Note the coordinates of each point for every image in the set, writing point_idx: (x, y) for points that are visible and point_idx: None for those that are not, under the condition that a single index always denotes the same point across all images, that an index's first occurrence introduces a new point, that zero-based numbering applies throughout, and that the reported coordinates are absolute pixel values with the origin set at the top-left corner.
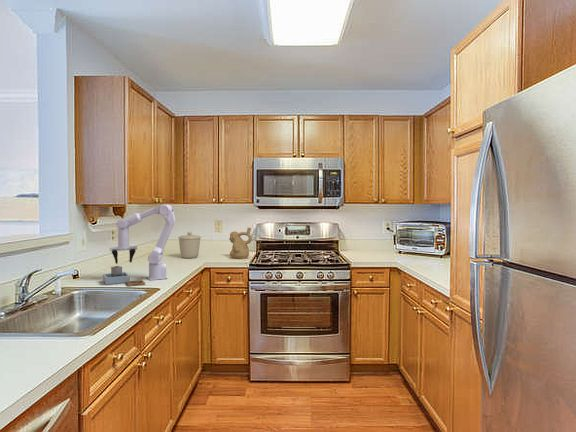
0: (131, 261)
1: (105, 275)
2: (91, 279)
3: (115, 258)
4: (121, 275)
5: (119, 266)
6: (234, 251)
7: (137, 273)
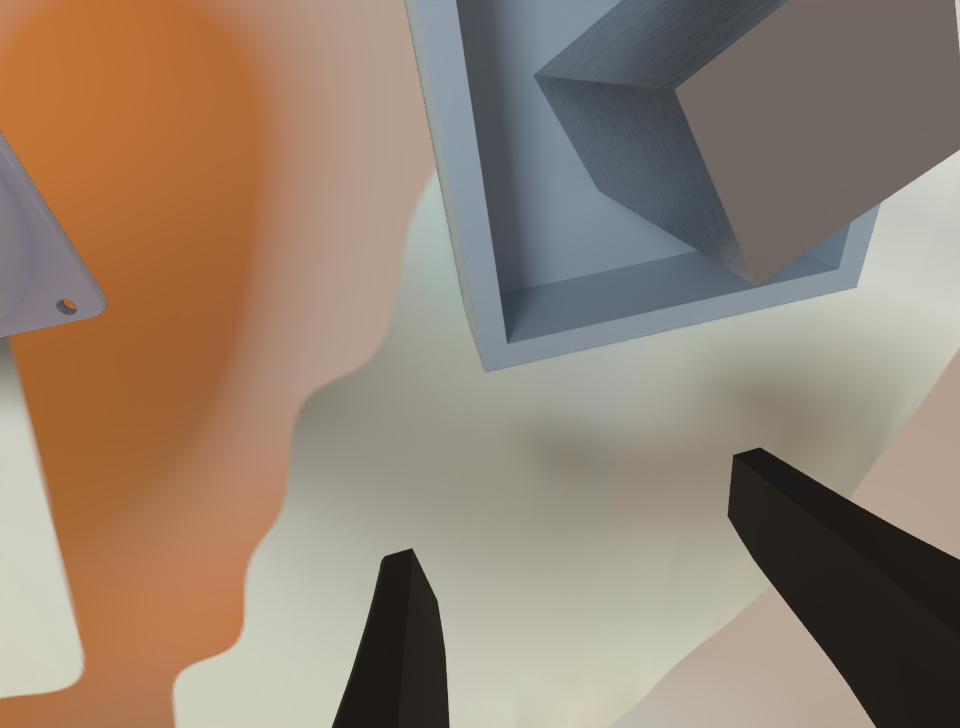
0: (384, 575)
1: None
2: (839, 390)
3: (928, 546)
4: (582, 68)
5: (740, 158)
6: None
7: (341, 601)
